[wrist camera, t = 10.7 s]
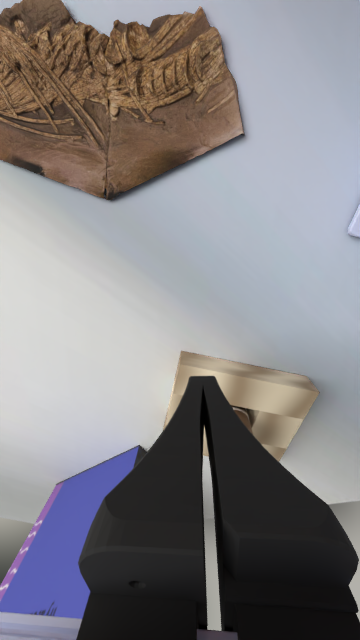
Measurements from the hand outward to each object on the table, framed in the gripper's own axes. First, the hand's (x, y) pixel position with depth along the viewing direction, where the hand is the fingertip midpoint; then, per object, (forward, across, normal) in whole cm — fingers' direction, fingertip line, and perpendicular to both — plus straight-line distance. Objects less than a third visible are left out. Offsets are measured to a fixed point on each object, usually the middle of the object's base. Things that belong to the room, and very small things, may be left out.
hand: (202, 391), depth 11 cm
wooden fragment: (+11, +9, -17) cm, 22 cm away
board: (+10, -3, +11) cm, 16 cm away
